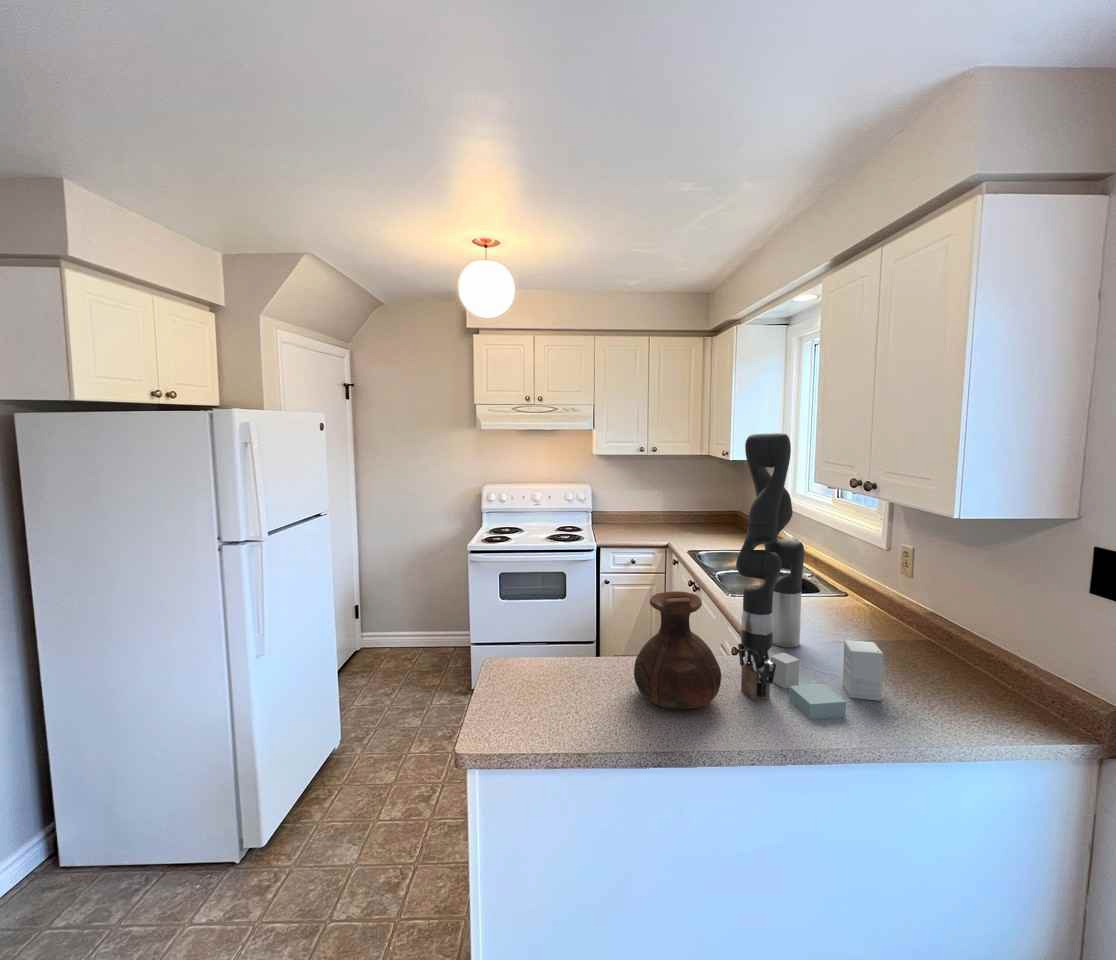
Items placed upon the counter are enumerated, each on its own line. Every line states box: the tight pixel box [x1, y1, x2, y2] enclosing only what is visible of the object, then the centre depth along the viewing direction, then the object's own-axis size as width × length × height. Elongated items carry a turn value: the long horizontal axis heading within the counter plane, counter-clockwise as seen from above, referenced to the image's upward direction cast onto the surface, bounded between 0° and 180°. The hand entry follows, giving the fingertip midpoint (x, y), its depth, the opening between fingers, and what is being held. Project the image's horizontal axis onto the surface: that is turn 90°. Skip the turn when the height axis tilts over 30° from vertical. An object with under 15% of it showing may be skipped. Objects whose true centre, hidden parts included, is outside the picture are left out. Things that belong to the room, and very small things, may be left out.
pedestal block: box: [788, 683, 847, 720], centre depth 129 cm, size 9×9×4 cm
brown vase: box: [633, 590, 722, 710], centre depth 133 cm, size 22×22×30 cm
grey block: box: [770, 652, 800, 689], centre depth 142 cm, size 5×5×7 cm
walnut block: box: [740, 665, 771, 701], centre depth 136 cm, size 5×5×7 cm
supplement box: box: [842, 639, 884, 702], centre depth 135 cm, size 7×7×13 cm
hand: (755, 690), depth 136 cm, fingers closed on walnut block, 5 cm apart
